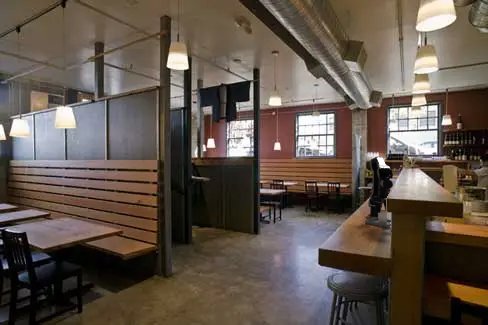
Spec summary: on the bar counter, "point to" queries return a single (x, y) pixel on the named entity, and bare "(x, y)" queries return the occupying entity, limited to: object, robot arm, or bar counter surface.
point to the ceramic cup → (382, 217)
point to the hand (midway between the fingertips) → (382, 211)
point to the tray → (375, 222)
